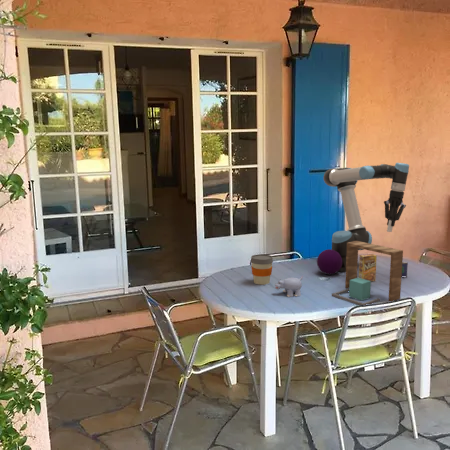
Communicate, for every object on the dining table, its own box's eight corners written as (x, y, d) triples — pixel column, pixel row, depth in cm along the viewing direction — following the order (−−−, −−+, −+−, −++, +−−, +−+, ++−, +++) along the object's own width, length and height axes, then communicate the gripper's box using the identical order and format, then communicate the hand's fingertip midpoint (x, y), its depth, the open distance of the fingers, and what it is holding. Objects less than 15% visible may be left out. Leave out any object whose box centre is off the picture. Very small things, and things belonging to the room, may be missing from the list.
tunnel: (345, 287, 271) (346, 242, 266) (354, 285, 276) (356, 240, 271) (390, 301, 248) (393, 252, 243) (400, 298, 253) (403, 250, 248)
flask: (406, 276, 291) (407, 258, 289) (407, 277, 288) (408, 260, 286) (390, 276, 292) (391, 258, 290) (391, 277, 289) (392, 260, 287)
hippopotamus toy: (273, 291, 267) (273, 274, 265) (300, 289, 268) (300, 273, 267) (277, 297, 256) (277, 280, 254) (305, 296, 258) (306, 278, 256)
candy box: (362, 282, 280) (363, 256, 277) (358, 280, 284) (359, 254, 281) (375, 281, 282) (377, 255, 280) (371, 279, 286) (372, 253, 284)
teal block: (348, 296, 257) (349, 280, 255) (357, 293, 261) (358, 277, 259) (361, 300, 251) (362, 283, 249) (370, 297, 255) (370, 281, 253)
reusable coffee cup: (271, 286, 275) (271, 260, 272) (249, 284, 277) (249, 259, 275) (273, 279, 287) (274, 254, 284) (252, 278, 289) (252, 253, 287)
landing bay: (331, 295, 258) (331, 293, 258) (347, 290, 266) (347, 288, 266) (363, 306, 242) (363, 304, 242) (380, 300, 250) (380, 298, 250)
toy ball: (342, 271, 303) (343, 247, 300) (341, 278, 289) (342, 253, 286) (317, 269, 307) (318, 246, 304) (315, 276, 292) (316, 252, 289)
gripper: (383, 188, 278) (375, 229, 282) (404, 192, 268) (395, 234, 272) (390, 189, 283) (383, 229, 287) (411, 192, 273) (403, 234, 277)
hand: (389, 231), depth 279 cm, fingers closed
